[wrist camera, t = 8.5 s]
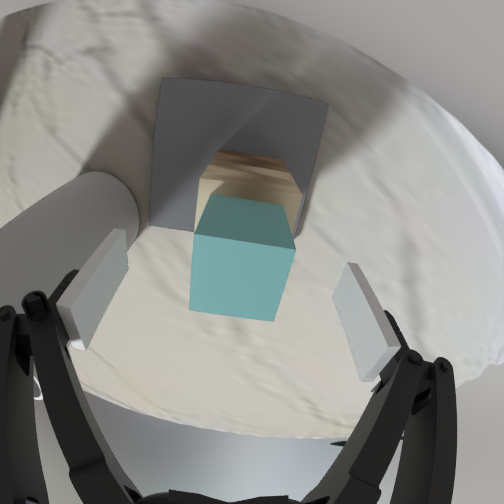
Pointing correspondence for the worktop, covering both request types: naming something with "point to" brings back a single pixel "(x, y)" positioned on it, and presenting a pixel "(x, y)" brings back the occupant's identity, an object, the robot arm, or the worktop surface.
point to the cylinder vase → (62, 237)
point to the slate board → (225, 139)
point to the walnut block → (251, 160)
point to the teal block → (240, 258)
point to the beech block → (249, 187)
